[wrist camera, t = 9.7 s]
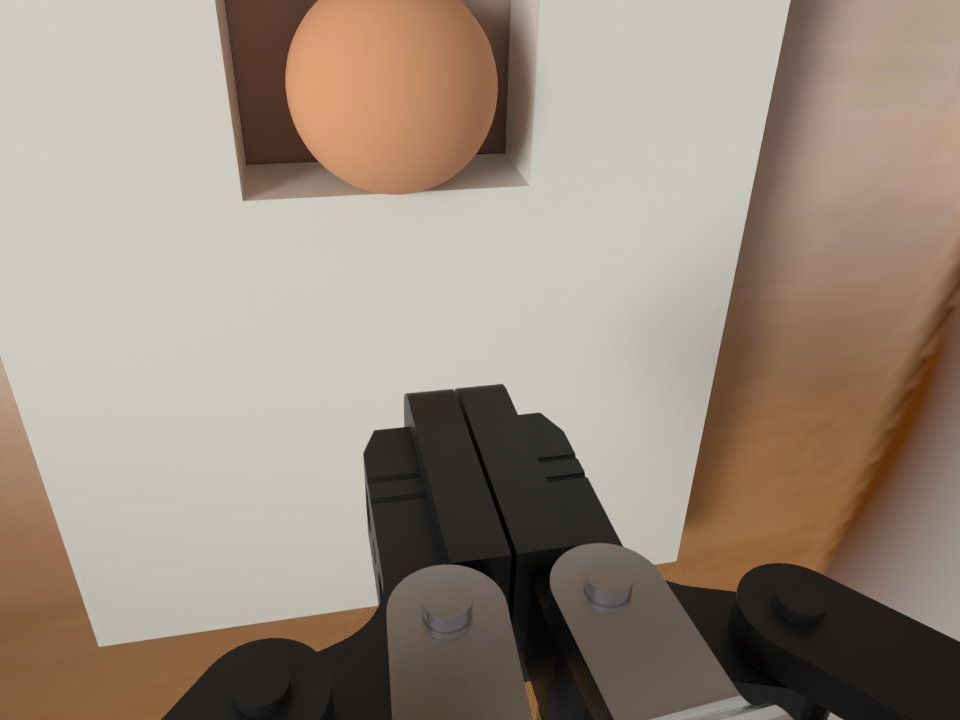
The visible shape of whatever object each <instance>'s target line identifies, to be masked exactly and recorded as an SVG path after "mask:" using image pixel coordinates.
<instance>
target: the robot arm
mask: <svg viewBox="0 0 960 720" xmlns="http://www.w3.org/2000/svg"><path fill="white" fill-rule="evenodd" d="M363 459H364V476H365V492H366V509H367V525H368V536H369V542H370V549H371V556H372V563H373V570H374V577H375V583H376V590H377V597H378V604H379V607H378V609H377V610H376V612H375V614H374V615H373V617H372V618H371V619H370V620H369V622H368V623H367V624H366V625H364V626H363V627H362V628H361V629H360V630H359V631H357V632H356V633H355V634H353V635H352V636H350V637H348V638H347V639H345V640H343V641H341V642H339V643H337V644H334V645H332V646H330V647H328V648H326V649H323V650H321V651H319V652H316V651H315V650H313V649H312V648H310V647H309V646H307V645H305V644H303V643H300V642H297V641H295V640H289V639H284V638H269V639H261V640H257V641H252V642H249V643H246V644H244V645H241V646H238V647H237V648H235V649H233V650H231V651H229V652H227V653H226V654H225V655H223V656H222V657H221V658H219V659H218V660H217V661H216V662H215V663H214V664H213V665H211V666H210V667H209V668H208V670H207V671H206V672H205V673H204V674H203V675H202V676H201V677H200V678H199V679H198V680H197V681H196V683H195V684H194V685H193V686H192V687H191V688H190V689H189V690H188V691H187V692H186V693H185V695H184V696H183V697H182V698H181V699H180V700H179V701H178V702H177V703H176V704H175V705H174V706H173V708H172V709H171V710H170V711H169V712H168V713H167V714H166V715H165V716H164V717H163V718H162V719H161V720H533V719H532V715H531V710H530V706H529V701H528V697H527V692H526V688H525V683H524V682H527V681H531V684H532V687H533V690H534V693H535V697H536V700H537V703H538V705H537V715H536V720H827V719H828V717H829V714H830V712H831V713H833V714H835V715H837V716H838V717H840V718H842V719H843V720H960V642H959V641H957V640H955V639H953V638H951V637H949V636H946V635H945V634H942V633H940V632H938V631H936V630H934V629H932V628H930V627H928V626H926V625H924V624H922V623H920V622H918V621H916V620H914V619H912V618H910V617H907V616H906V615H904V614H902V613H900V612H897V611H895V610H893V609H891V608H889V607H887V606H885V605H883V604H881V603H879V602H877V601H875V600H873V599H871V598H869V597H867V596H865V595H863V594H861V593H859V592H857V591H855V590H853V589H851V588H849V587H846V586H844V585H842V584H840V583H838V582H836V581H834V580H832V579H830V578H828V577H826V576H824V575H822V574H820V573H818V572H815V571H813V570H811V569H808V568H804V567H801V566H797V565H792V564H783V563H773V564H766V565H761V566H758V567H756V568H753V569H752V570H750V571H749V572H747V573H746V574H745V575H744V576H743V577H742V579H741V581H740V582H739V585H738V589H737V592H733V591H724V590H716V589H707V588H698V587H690V586H685V585H679V584H676V583H672V582H669V581H667V580H665V579H664V578H663V576H662V575H661V573H660V572H659V571H658V569H657V568H656V567H655V566H654V565H653V564H652V563H651V562H650V561H649V560H648V559H646V558H645V557H643V556H642V555H640V554H639V553H637V552H635V551H633V550H630V549H628V548H625V547H623V545H622V543H621V541H620V539H619V537H618V536H617V534H616V532H615V530H614V528H613V526H612V524H611V522H610V520H609V518H608V516H607V514H606V512H605V510H604V508H603V506H602V505H601V503H600V501H599V499H598V497H597V495H596V493H595V491H594V489H593V487H592V485H591V483H590V481H589V479H588V477H585V472H584V470H583V468H582V466H581V464H580V462H579V460H578V458H576V457H575V452H574V450H573V448H572V446H571V444H570V443H569V441H568V439H567V437H566V435H565V433H564V431H563V430H562V429H560V428H559V427H558V426H557V425H555V424H554V423H553V422H552V421H550V420H549V419H548V418H546V417H545V416H544V415H543V414H541V413H531V414H522V415H518V414H517V411H516V409H515V407H514V405H513V403H512V400H511V398H510V396H509V394H508V391H507V389H506V387H505V386H504V385H503V384H495V385H485V386H475V387H465V388H456V389H455V391H454V390H453V389H446V390H436V391H426V392H416V393H406V394H405V395H404V427H401V428H392V429H382V430H374V432H373V434H372V436H371V438H370V440H369V442H368V444H367V446H366V449H365V451H364V453H363Z"/></svg>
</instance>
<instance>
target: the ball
mask: <svg viewBox="0 0 960 720" xmlns="http://www.w3.org/2000/svg"><path fill="white" fill-rule="evenodd" d="M285 75H286V94H287V101H288V106H289V109H290V113H291V117H292V120H293V122H294V125H295V127H296V129H297V132H298V133H299V135H300V137H301V138H302V140H303V142H304V143H305V145H306V147H307V148H308V149H309V151H310V152H311V153H312V154H313V156H314V157H315V158H316V159H317V160H318V161H319V162H320V163H321V164H322V165H323V166H324V167H325V168H326V169H327V170H329V171H330V172H331V173H333V174H334V175H335V176H337V177H338V178H340V179H342V180H344V181H345V182H347V183H349V184H351V185H353V186H355V187H358V188H360V189H363V190H367V191H370V192H374V193H380V194H388V195H403V194H411V193H416V192H420V191H424V190H427V189H430V188H432V187H435V186H437V185H439V184H441V183H443V182H445V181H446V180H448V179H450V178H451V177H453V176H454V175H455V174H456V173H458V172H459V171H460V170H462V169H463V168H464V167H465V166H466V165H467V164H468V163H469V162H470V161H471V160H472V158H473V157H474V156H475V155H476V153H477V152H478V151H479V149H480V147H481V146H482V144H483V142H484V140H485V139H486V137H487V135H488V132H489V130H490V127H491V125H492V122H493V118H494V114H495V110H496V103H497V94H498V77H497V70H496V64H495V59H494V56H493V52H492V49H491V46H490V43H489V41H488V39H487V37H486V34H485V32H484V31H483V29H482V27H481V26H480V24H479V22H478V21H477V19H476V18H475V17H474V15H473V14H472V13H471V12H470V10H469V9H468V8H467V7H466V6H465V5H464V4H463V3H462V2H461V1H460V0H318V1H317V2H316V3H315V4H314V5H313V6H312V7H311V9H310V10H309V11H308V12H307V13H306V15H305V17H304V18H303V20H302V22H301V23H300V25H299V27H298V28H297V30H296V33H295V35H294V37H293V40H292V42H291V46H290V49H289V53H288V58H287V66H286V74H285Z"/></svg>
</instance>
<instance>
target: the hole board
mask: <svg viewBox="0 0 960 720" xmlns="http://www.w3.org/2000/svg"><path fill="white" fill-rule="evenodd" d="M790 1H791V0H511V10H510V36H509V63H508V90H507V117H506V144H505V153H501V154H479V155H475V156H474V157H473V158H472V160H471V161H470V162H469V163H468V164H467V165H466V166H465V167H464V168H463V169H462V170H460V171H459V172H458V173H456V174H455V175H454V176H453V177H451V178H450V179H448V180H446V181H445V182H443V183H441V184H439V185H437V186H435V187H432V188H430V189H427V190H424V191H420V192H416V193H411V194H403V195H388V194H380V193H374V192H370V191H367V190H363V189H360V188H358V187H355V186H353V185H351V184H349V183H347V182H345V181H344V180H342V179H340V178H338V177H337V176H335V175H334V174H333V173H331V172H330V171H329V170H327V169H326V168H325V167H324V166H323V165H322V164H321V163H320V162H302V163H280V164H258V165H246V159H245V151H244V144H243V136H242V129H241V121H240V114H239V106H238V99H237V91H236V84H235V76H234V69H233V61H232V54H231V46H230V39H229V31H228V24H227V16H226V9H225V1H224V0H0V356H1V359H2V362H3V365H4V368H5V371H6V374H7V377H8V380H9V382H10V385H11V388H12V391H13V394H14V397H15V400H16V403H17V406H18V409H19V412H20V415H21V418H22V421H23V424H24V427H25V430H26V433H27V436H28V439H29V442H30V445H31V448H32V451H33V454H34V457H35V459H36V462H37V465H38V468H39V471H40V474H41V477H42V480H43V483H44V486H45V489H46V492H47V495H48V498H49V501H50V504H51V507H52V510H53V513H54V516H55V519H56V522H57V525H58V528H59V531H60V533H61V536H62V539H63V542H64V545H65V548H66V551H67V554H68V557H69V560H70V563H71V566H72V569H73V572H74V575H75V578H76V581H77V584H78V587H79V590H80V593H81V596H82V599H83V602H84V605H85V608H86V610H87V613H88V616H89V619H90V622H91V625H92V628H93V631H94V634H95V637H96V640H97V643H98V646H99V647H102V646H109V645H115V644H122V643H129V642H136V641H142V640H149V639H156V638H163V637H169V636H176V635H183V634H190V633H196V632H203V631H210V630H217V629H223V628H230V627H237V626H244V625H250V624H257V623H264V622H271V621H277V620H284V619H291V618H298V617H304V616H311V615H318V614H325V613H331V612H338V611H345V610H352V609H358V608H365V607H372V606H379V604H378V597H377V590H376V583H375V577H374V570H373V563H372V556H371V549H370V542H369V536H368V525H367V509H366V492H365V476H364V459H363V453H364V451H365V449H366V446H367V444H368V442H369V440H370V438H371V436H372V434H373V432H374V430H382V429H392V428H401V427H404V395H405V394H406V393H416V392H426V391H436V390H446V389H453V390H454V391H455V389H456V388H465V387H475V386H485V385H495V384H503V385H504V386H505V387H506V389H507V391H508V394H509V396H510V398H511V400H512V403H513V405H514V407H515V409H516V411H517V414H518V415H522V414H531V413H541V414H543V415H544V416H545V417H546V418H548V419H549V420H550V421H552V422H553V423H554V424H555V425H557V426H558V427H559V428H560V429H562V430H563V431H564V433H565V435H566V437H567V439H568V441H569V443H570V444H571V446H572V448H573V450H574V452H575V457H576V458H578V460H579V462H580V464H581V466H582V468H583V470H584V472H585V477H588V479H589V481H590V483H591V485H592V487H593V489H594V491H595V493H596V495H597V497H598V499H599V501H600V503H601V505H602V506H603V508H604V510H605V512H606V514H607V516H608V518H609V520H610V522H611V524H612V526H613V528H614V530H615V532H616V534H617V536H618V537H619V539H620V541H621V543H622V545H623V547H625V548H628V549H630V550H633V551H635V552H637V553H639V554H640V555H642V556H643V557H645V558H646V559H648V560H649V561H650V562H651V563H652V564H653V565H655V564H662V563H669V562H676V560H677V556H678V551H679V546H680V541H681V536H682V531H683V526H684V521H685V516H686V511H687V506H688V502H689V497H690V492H691V487H692V482H693V477H694V472H695V467H696V462H697V457H698V452H699V448H700V443H701V438H702V433H703V428H704V423H705V418H706V413H707V408H708V403H709V398H710V394H711V389H712V384H713V379H714V374H715V369H716V364H717V359H718V354H719V349H720V344H721V340H722V335H723V330H724V325H725V320H726V315H727V310H728V305H729V300H730V295H731V290H732V286H733V281H734V276H735V271H736V266H737V261H738V256H739V251H740V246H741V241H742V236H743V232H744V227H745V222H746V217H747V212H748V207H749V202H750V197H751V192H752V187H753V182H754V177H755V173H756V168H757V163H758V158H759V153H760V148H761V143H762V138H763V133H764V128H765V123H766V119H767V114H768V109H769V104H770V99H771V94H772V89H773V84H774V79H775V74H776V69H777V65H778V60H779V55H780V50H781V45H782V40H783V35H784V30H785V25H786V20H787V15H788V11H789V6H790Z"/></svg>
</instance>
